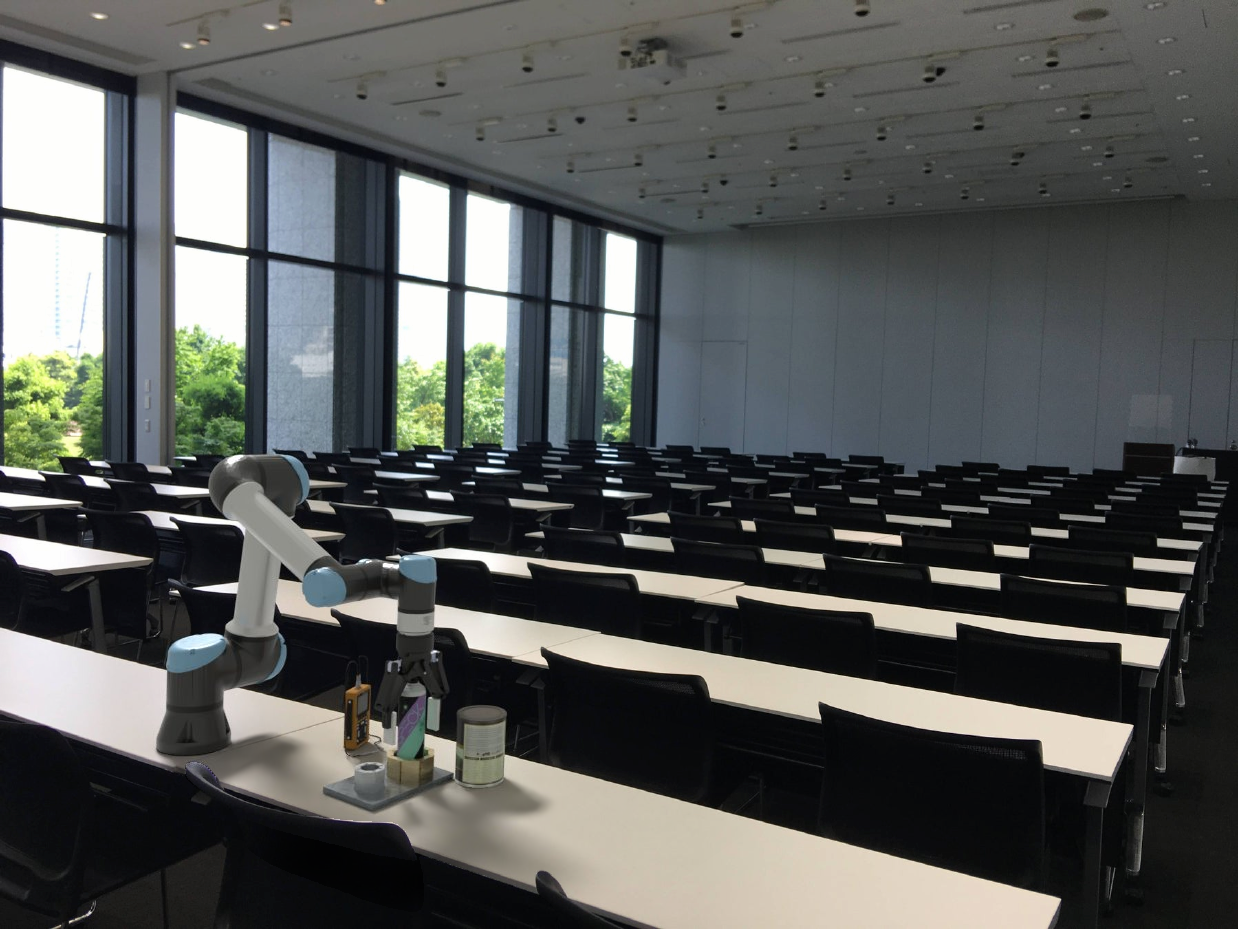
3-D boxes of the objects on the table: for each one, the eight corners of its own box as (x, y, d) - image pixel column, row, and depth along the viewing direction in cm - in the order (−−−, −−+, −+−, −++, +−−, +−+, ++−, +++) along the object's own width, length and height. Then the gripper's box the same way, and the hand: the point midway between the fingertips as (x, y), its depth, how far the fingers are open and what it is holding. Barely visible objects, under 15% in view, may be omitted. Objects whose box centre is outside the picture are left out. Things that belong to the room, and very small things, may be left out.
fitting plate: (323, 792, 190) (323, 766, 190) (405, 763, 208) (406, 739, 208) (372, 811, 182) (373, 784, 182) (453, 778, 201) (454, 753, 200)
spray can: (394, 769, 201) (396, 673, 200) (420, 766, 203) (423, 671, 203) (399, 778, 196) (401, 680, 195) (426, 775, 198) (428, 678, 198)
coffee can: (443, 780, 200) (446, 712, 199) (478, 766, 208) (480, 702, 207) (480, 792, 194) (482, 723, 193) (514, 778, 202) (517, 712, 202)
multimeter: (377, 760, 209) (380, 669, 208) (334, 755, 211) (337, 664, 210) (405, 739, 223) (408, 653, 223) (365, 735, 225) (368, 649, 225)
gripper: (384, 644, 187) (380, 755, 188) (468, 625, 206) (465, 726, 207) (357, 637, 191) (353, 746, 192) (443, 620, 211) (439, 719, 212)
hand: (411, 736), depth 200 cm, fingers open, 11 cm apart
